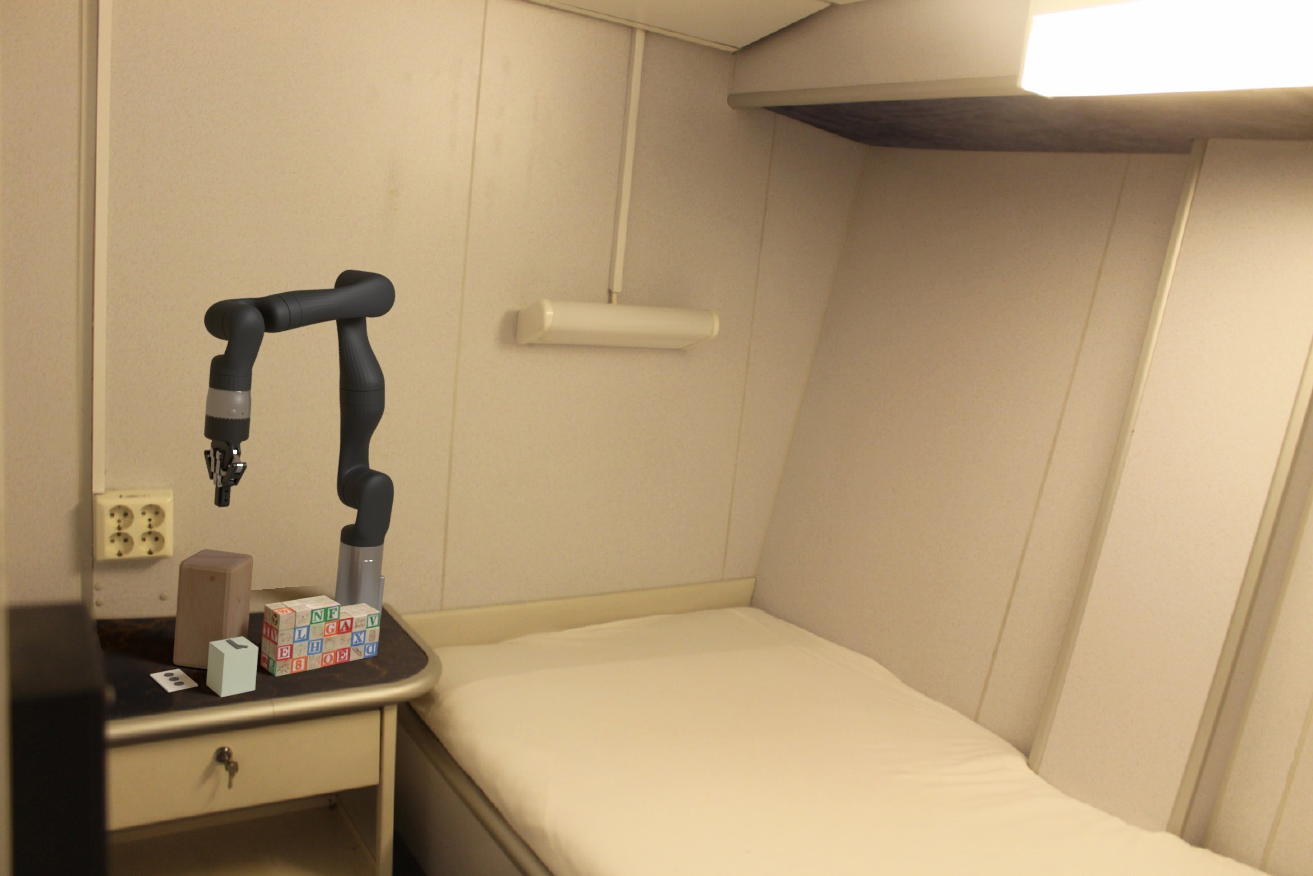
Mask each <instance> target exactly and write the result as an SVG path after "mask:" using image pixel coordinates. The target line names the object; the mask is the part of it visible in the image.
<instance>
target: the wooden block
mask: <svg viewBox="0 0 1313 876" xmlns="http://www.w3.org/2000/svg"><path fill="white" fill-rule="evenodd" d="M253 565H254V557H253V555H250V554H247V553H238V552H232V551H231V552H230V551H224V550H215V549H210V548H207V549H206V548H204V549H202V550H200V551H197V552H196V553H194V554H192V555H190V556H189V557H187V558H184V560H183V559H182V561H180V564H179V567H178V569H179V570H178V580H177V597H176V598H177V599H176V610H175V611H176V613H175V630H174V645H173V659H172V662H173V664H174V665H175V666H182V667H187V668H196V669H203V670H204V669H205V670H207V669H208V655H209V642H213V641H219V640H224V639H230V638H236V637H242V636H243V637H245V638H246V639H247V640H248V636H249V635H248V632H249V622H250V621H249V619H250V606H251V595H252V594H251V593H252V592H251V591H252V582H253V581H252V580H253V579H252V578H253V569H254V568H253Z"/></svg>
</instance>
